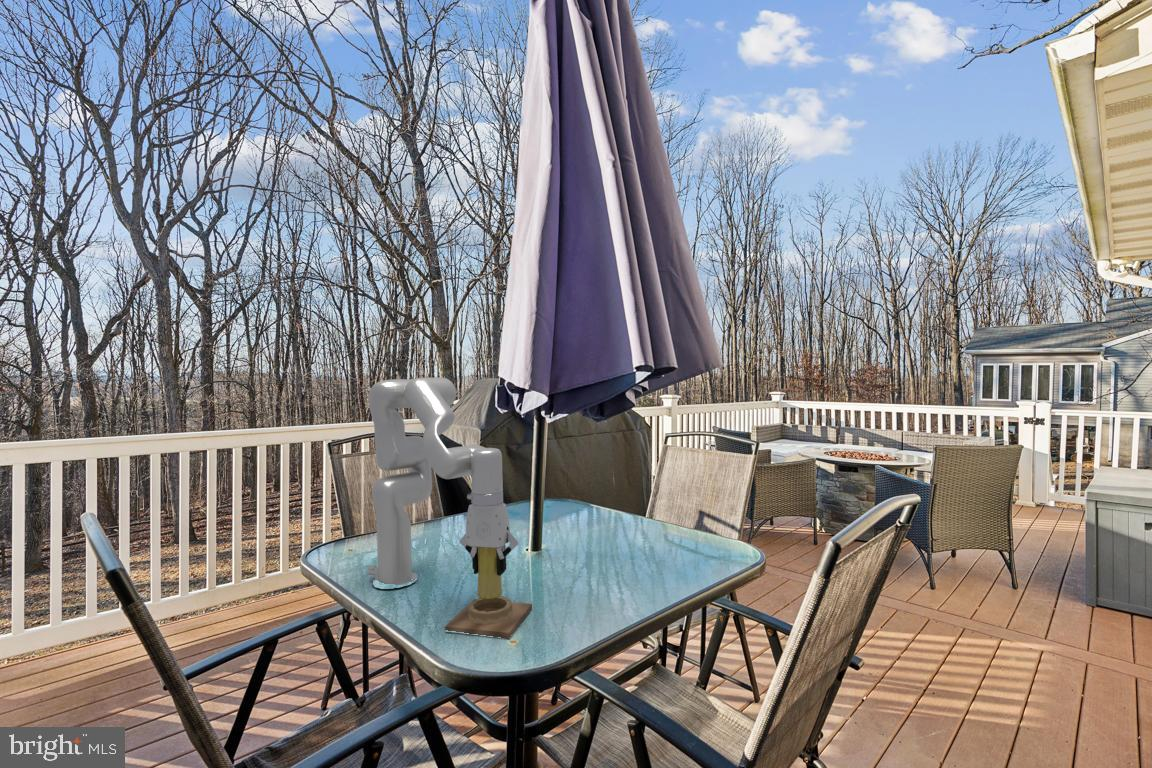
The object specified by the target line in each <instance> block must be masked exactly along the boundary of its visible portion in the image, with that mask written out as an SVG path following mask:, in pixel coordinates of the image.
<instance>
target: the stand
mask: <svg viewBox="0 0 1152 768" xmlns="http://www.w3.org/2000/svg"><path fill="white" fill-rule="evenodd" d="M531 610H533V603H525V602H514V601H513V602H512V600H511V599H510V598H508V597H505V596H502V595H501V596H499V597H497V598H494V599H482V598H479V597H478V598H473V600H471V601H470V602H469V603H468V604H467V605H466V606H465V607H464V608H463V609H462V610H461V611H460V612H458V614H456V615H455V616H454V617H453V618H452V619H451V620H450V621H449V622H448V623H447V624H446V625H445V626H444V631H445V630H448V631H456V632H464V633H469V634H478V635H486V636H493V637H501V638H508V639H507V640H510V639H511V638H512V636H513V635H514V634H515V633H516V631H517V630H518V629H519V627H520V626H521V625H522V624H521V623H523V622H524V621H525V620H526V619H527V617H528V616H529V615H530V613H531V612H532V611H531ZM530 611H531V612H530ZM529 612H530V613H529ZM527 615H528V616H527ZM526 616H527V617H526ZM524 619H525V620H524ZM523 620H524V621H523ZM520 624H521V625H520ZM517 628H518V629H517ZM514 632H515V633H514ZM513 633H514V634H513ZM512 634H513V635H512ZM511 635H512V636H511ZM510 637H511V638H510ZM509 638H510V639H509Z"/></svg>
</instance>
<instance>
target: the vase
mask: <svg viewBox="0 0 1152 768" xmlns="http://www.w3.org/2000/svg"><path fill="white" fill-rule="evenodd" d="M497 559H499V555H498V553H497V550H496V548H485V547H483V548H478V573H477V593H476V596H477V597H478V598H482V599H494V598H497V597H499V596H502V595H503V587H502V575H501V576H498V575H497Z"/></svg>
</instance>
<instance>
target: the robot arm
mask: <svg viewBox="0 0 1152 768" xmlns="http://www.w3.org/2000/svg"><path fill="white" fill-rule="evenodd" d="M456 398H457V390H456V386H455V385H454V383H453V382H452V381H451V380H450V379H448V378H446V377H417V378H412V379H410V378H409V379H408V378H407V379H402V378H401V379H399V378H398V379H396V378H395V379H394V378H393V379H384V380H380V381H377V382H375V383H374V384H373V385H372V386H371V387H370V390H369V393H368V408H369V412H370V415H371V418H372V421H373V428H374V445H375V460H376V461H375V462H376V464H377V466H378V468H379V469H380V470H382V471H387V472H389V471H390V472H391V471H397V470H399V471H400V470H405V469H409V472H404V473H403V472H402V473H397V474H391V475H385V476H382V477H381V478H379V479H377V480H376V481H375V482H374V484H373V485H372V489H371V492H372V493H371V495H372V500H373V504H374V509H375V510H374V511H375V520H376V521H375V522H376V544H377V545H376V547H377V548H376V549H377V553H376V554H377V566H376V565H370V566H369V567H368V570H367V572H366V574H367V575H369V576H374V579H375V580H378V581H379V582H381V583H384V584H395V585H403V584H407V583H409V582H412V581H414V580H415V579H416V578H417V579H418V574H417V573H416V572H414V571H412V570H413V565H412V564H413V562H412V558H413V557H412V527H411V526H412V525H411V524H412V523H411V519H410V516H409V515H408V513H407V512H406V511H405V509H404V507H405V506H409V505H413V504H417V503H421V502H422V503H423V502H424V501H427V500H428V499H429V498H430V496H431V494H432V490H433V477H432V476H433V475H432V470H433V471H434V472H435V475H437V476H438V477H439V478H441V479H444V480H451V479H457V478H463V477H468V476H471V492H470V493H467V495H466V499H467V500H471V501H470V502H471V504H469V505H468V508H467V515H466V522H465V523H466V524H465V533H464V535H463V536H462V537H461V539H460V540H459V544H460V545H462V547H463V548H465V550H466V552H467V553H468V554H469V555H470V557H471V560H472V561H471V562H472V565H471V566H472V570H473V574H474V575H478V548H483V547H485V548H496V550H497V553H498V555H499V559H497V575H498V576H501V577H502V575H503V574H504V573H505V571H507V556H508V555H509V554H510V553H511V552H512V550H514V549H515V548H516V547H518V545H519V541H518V540H517V539H516V537H515V536H514V535H513V534H512V533H511V530H510V529H511V528H510V527H511V526H510V520H509V519H510V518H509V513H508V509H507V505H506V503H504V488H503V486H504V485H503V484H504V483H503V480H504V479H503V454H502V452H501V450H500V449H499V448H494V447H485V446H482V445H479V444H471V445H463V446H455V447H450V448H449V447H448V448H447V447H446V445H445V444H444V443H443V441H442V439H441V438H440V436H441V435H442V434H443V433H444V432H446V431H447V430H449V429H450V428H451V426H452V425H453V424H454V421H455V419H456V418H455V417H456V415H455V413H454V411H453V410H452V408H451V407H450V406H451V405H453V404H454V403H455V401H456ZM397 409H412V411H413V413H414V414H415V416H416V417H417V418H418V420H419V422H420V424H422V426H423V429H424V432H423V435H422V436H423V437H422V436H418V435H411V436H410V435H408V436H406V428H405V427H406V426H405V421H404V419H403V418H402V416H401V415H400V413H399V411H397ZM508 543H509V546H507V547H506V544H508ZM412 572H413V574H412ZM411 579H413V580H411Z"/></svg>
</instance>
